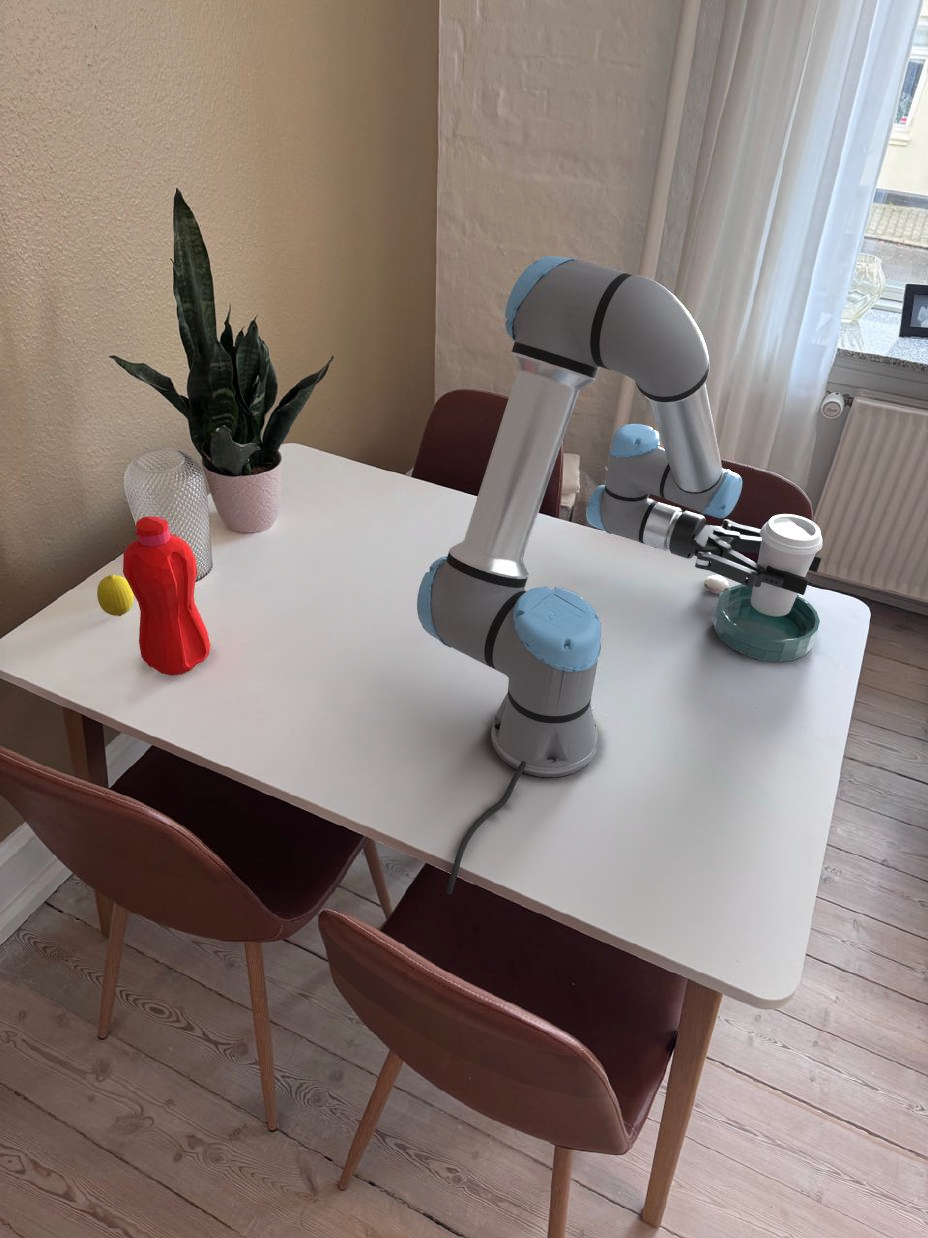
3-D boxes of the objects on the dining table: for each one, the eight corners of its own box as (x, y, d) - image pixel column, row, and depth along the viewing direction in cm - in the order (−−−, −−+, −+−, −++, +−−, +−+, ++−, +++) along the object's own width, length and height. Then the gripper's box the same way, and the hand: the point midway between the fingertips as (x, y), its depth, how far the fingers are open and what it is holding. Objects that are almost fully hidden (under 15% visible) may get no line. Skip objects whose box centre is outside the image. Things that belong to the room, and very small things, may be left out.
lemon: (142, 607, 156) (134, 567, 151) (129, 626, 151) (120, 586, 147) (110, 604, 156) (101, 564, 151) (96, 623, 152) (86, 583, 147)
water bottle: (228, 648, 148) (208, 513, 133) (175, 685, 140) (148, 545, 125) (187, 627, 152) (163, 493, 137) (134, 662, 144) (102, 524, 129)
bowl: (784, 677, 147) (791, 655, 145) (694, 633, 156) (699, 611, 153) (828, 632, 157) (836, 611, 155) (741, 593, 166) (747, 572, 163)
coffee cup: (807, 623, 149) (834, 545, 140) (748, 620, 149) (771, 541, 140) (791, 589, 157) (816, 513, 148) (735, 586, 157) (756, 509, 148)
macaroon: (701, 593, 165) (704, 581, 164) (704, 578, 169) (707, 566, 168) (726, 598, 164) (729, 586, 163) (728, 583, 168) (731, 571, 167)
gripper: (693, 524, 165) (823, 566, 155) (649, 577, 151) (789, 626, 142) (701, 487, 160) (835, 527, 151) (657, 538, 146) (801, 586, 137)
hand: (812, 575), depth 146 cm, fingers closed on coffee cup, 7 cm apart
